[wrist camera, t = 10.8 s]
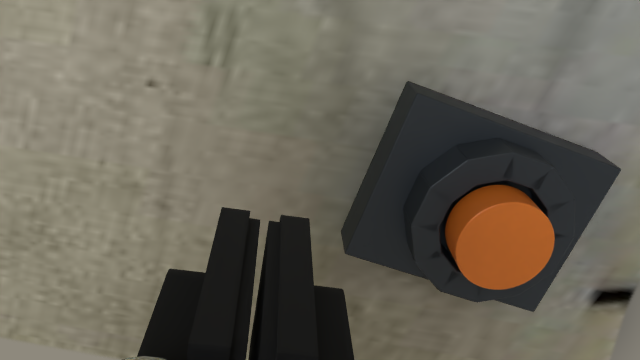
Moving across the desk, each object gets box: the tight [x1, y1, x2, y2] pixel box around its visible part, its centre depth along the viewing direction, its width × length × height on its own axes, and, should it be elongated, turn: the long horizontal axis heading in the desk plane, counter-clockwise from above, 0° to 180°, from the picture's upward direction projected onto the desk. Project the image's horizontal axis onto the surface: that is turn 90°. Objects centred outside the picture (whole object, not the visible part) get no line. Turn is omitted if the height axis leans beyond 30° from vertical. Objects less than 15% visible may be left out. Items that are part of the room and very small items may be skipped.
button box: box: [341, 81, 621, 312], centre depth 26 cm, size 10×8×4 cm
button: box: [445, 185, 555, 290], centre depth 24 cm, size 4×4×2 cm
